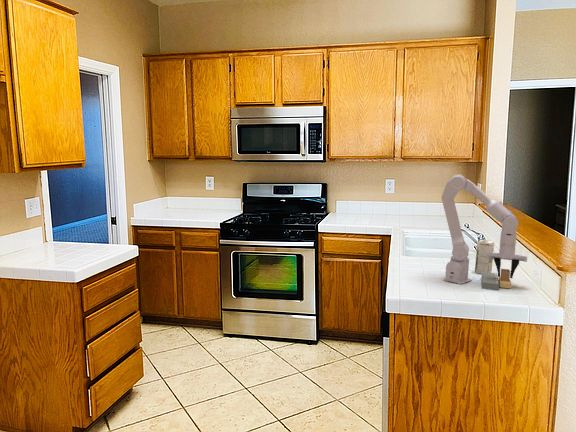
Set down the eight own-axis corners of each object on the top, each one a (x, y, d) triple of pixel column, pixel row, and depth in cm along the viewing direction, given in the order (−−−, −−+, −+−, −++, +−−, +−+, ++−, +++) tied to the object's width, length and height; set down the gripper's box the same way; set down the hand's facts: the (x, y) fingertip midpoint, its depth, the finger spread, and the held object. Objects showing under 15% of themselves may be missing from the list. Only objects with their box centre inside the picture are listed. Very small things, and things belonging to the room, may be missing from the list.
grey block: (481, 288, 185) (482, 282, 184) (481, 277, 201) (481, 271, 201) (498, 290, 182) (499, 283, 182) (496, 279, 199) (497, 273, 199)
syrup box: (478, 270, 214) (480, 239, 212) (492, 273, 210) (494, 241, 208) (474, 273, 209) (476, 241, 207) (488, 275, 206) (490, 242, 204)
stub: (499, 287, 186) (500, 272, 185) (498, 281, 195) (499, 267, 194) (510, 288, 184) (511, 273, 184) (509, 282, 194) (510, 268, 193)
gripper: (488, 244, 187) (485, 277, 188) (528, 247, 181) (525, 281, 183) (487, 241, 193) (485, 273, 195) (527, 244, 188) (524, 277, 189)
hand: (505, 277), depth 189 cm, fingers open, 4 cm apart
